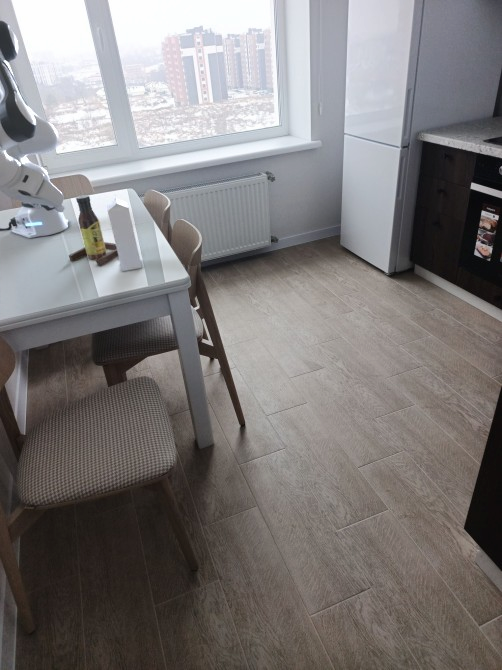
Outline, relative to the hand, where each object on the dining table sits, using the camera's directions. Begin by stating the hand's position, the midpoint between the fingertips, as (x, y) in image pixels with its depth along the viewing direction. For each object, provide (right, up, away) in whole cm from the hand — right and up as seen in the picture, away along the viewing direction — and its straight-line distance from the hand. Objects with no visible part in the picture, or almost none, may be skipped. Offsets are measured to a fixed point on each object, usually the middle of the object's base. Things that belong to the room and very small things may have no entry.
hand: (50, 208), depth 139 cm
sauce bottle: (+8, -11, +19) cm, 23 cm away
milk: (+21, -16, +10) cm, 28 cm away
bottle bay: (+8, -11, +19) cm, 23 cm away
